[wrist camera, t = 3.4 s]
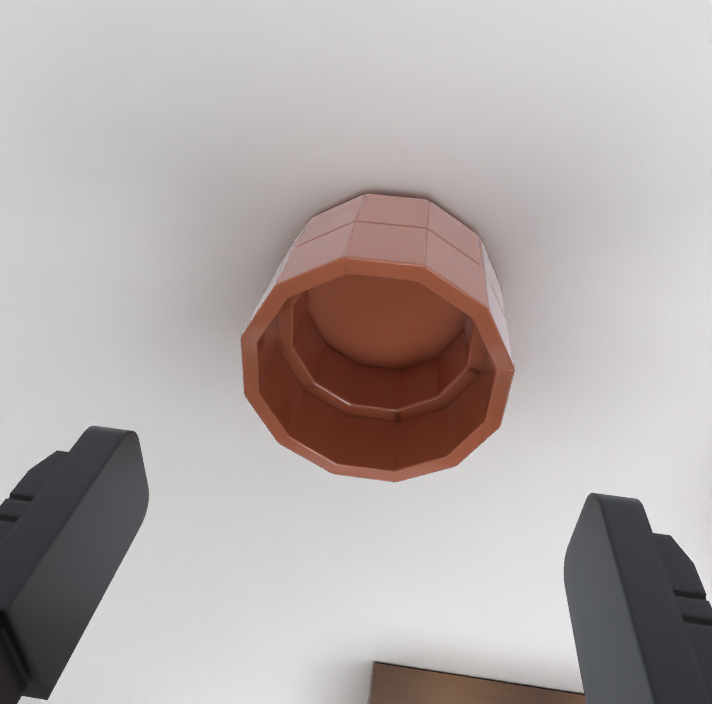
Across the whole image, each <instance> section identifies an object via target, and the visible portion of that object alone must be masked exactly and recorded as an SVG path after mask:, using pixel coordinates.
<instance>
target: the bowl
mask: <svg viewBox="0 0 712 704" xmlns="http://www.w3.org/2000/svg"><path fill="white" fill-rule="evenodd" d="M241 352H242V370H243V387H244V394H245V397H246V398H247V400H248V401H249V403H250V404H251V405H252V407H253V408H254V410H255V411H256V412H257V414H258V415H259V417H260V418H261V419H262V421H263V422H264V424H265V425H266V427H267V428H268V429H269V431H270V432H271V434H272V435H273V436H274V438H275V439H276V441H277V442H278V443H279V444H280V445H282V446H284V447H286V448H288V449H289V450H291V451H293V452H295V453H296V454H298V455H300V456H302V457H304V458H305V459H307V460H309V461H311V462H312V463H314V464H316V465H318V466H319V467H321V468H323V469H325V470H327V471H328V472H330V473H333V474H337V475H344V476H352V477H359V478H367V479H374V480H382V481H389V482H395V481H396V482H399V481H403V480H406V479H410V478H414V477H418V476H422V475H425V474H429V473H433V472H437V471H440V470H444V469H448V468H452V467H455V466H457V465H458V464H459V463H460V462H461V461H463V460H464V459H465V458H466V457H467V456H468V455H469V454H470V453H471V452H473V451H474V450H475V449H476V448H477V447H478V446H479V445H480V444H482V443H483V442H484V441H485V440H486V439H487V438H488V437H489V436H491V435H492V434H493V433H494V432H495V431H496V430H497V429H498V428H499V427H500V426H501V423H502V419H503V415H504V411H505V407H506V403H507V399H508V395H509V391H510V387H511V383H512V379H513V375H514V371H515V370H514V362H513V356H512V350H511V344H510V338H509V332H508V326H507V322H506V315H505V309H504V302H503V296H502V290H501V285H500V283H499V281H498V278H497V276H496V273H495V271H494V268H493V266H492V263H491V261H490V259H489V256H488V254H487V251H486V249H485V246H484V244H483V242H482V239H481V238H480V237H479V236H478V234H476V233H475V232H474V231H472V230H471V229H469V228H468V227H466V226H465V225H464V224H462V223H461V222H459V221H458V220H457V219H455V218H454V217H452V216H451V215H450V214H448V213H447V212H445V211H444V210H443V209H441V208H440V207H438V206H437V205H436V204H434V203H433V202H430V201H429V200H427V199H418V198H408V197H398V196H388V195H377V194H365V195H361V196H358V197H356V198H354V199H352V200H350V201H347V202H345V203H343V204H341V205H338V206H336V207H334V208H332V209H330V210H327V211H325V212H323V213H321V214H319V215H316V216H314V217H312V218H311V219H310V220H308V222H307V223H306V225H305V226H304V228H303V229H302V231H301V232H300V234H299V235H298V237H297V238H296V240H295V242H294V243H293V245H292V246H291V248H290V249H289V251H288V252H287V254H286V255H285V257H284V258H283V260H282V261H281V263H280V265H279V267H278V269H277V271H276V272H275V274H274V276H273V278H272V280H271V282H270V283H269V285H268V287H267V289H266V291H265V293H264V295H263V296H262V298H261V300H260V302H259V304H258V306H257V307H256V309H255V311H254V313H253V315H252V317H251V318H250V320H249V322H248V324H247V326H246V328H245V330H244V331H243V333H242V336H241Z"/></svg>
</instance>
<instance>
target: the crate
mask: <svg viewBox="0 0 712 704" xmlns="http://www.w3.org/2000/svg"><path fill="white" fill-rule="evenodd" d="M368 704H586V700H585V695H580V694H574V693H567V692H561V691H554V690H548V689H541V688H535V687H528V686H522V685H516V684H509V683H503V682H496V681H490V680H483V679H477V678H470V677H464V676H457V675H451V674H445V673H438V672H432V671H425V670H419V669H412V668H406V667H399V666H393V665H386V664H380V663H374V664H373V668H372V676H371V683H370V691H369V698H368Z"/></svg>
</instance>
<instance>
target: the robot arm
mask: <svg viewBox="0 0 712 704" xmlns="http://www.w3.org/2000/svg"><path fill="white" fill-rule="evenodd" d="M148 500H149V489H148V483H147V478H146V473H145V468H144V463H143V458H142V453H141V448H140V442H139V438H138V436H137V434H136V432H134V431H129V430H122V429H114V428H106V427H99V426H91V427H89V428H88V429H86V430H85V432H84V433H83V434H82V435H81V437H80V438H79V439H78V441H77V442H76V443H75V445H74V446H73V447H72V449H71V450H70V451H69V452H63V451H56V452H54V453H53V454H52V455H50V456H49V457H47V458H46V459H44V460H43V461H41V462H40V463H39V464H37V465H36V466H34V467H33V468H31V469H30V470H29V471H28V472H27V473H26V475H25V476H24V477H23V478H22V479H21V481H20V482H19V483H18V484H17V486H16V487H15V488H14V489H13V491H12V492H11V493H10V497H9V499H5V501H4V502H3V503H2V504H1V505H0V704H17V703H18V701H19V700H20V698H21V696H26V697H32V698H38V699H44V700H48V698H49V696H50V694H51V692H52V690H53V689H54V687H55V685H56V683H57V681H58V679H59V677H60V676H61V674H62V672H63V670H64V668H65V666H66V664H67V662H68V661H69V659H70V657H71V655H72V653H73V651H74V649H75V648H76V646H77V644H78V642H79V640H80V638H81V636H82V635H83V633H84V631H85V629H86V627H87V625H88V623H89V621H90V620H91V618H92V616H93V614H94V612H95V610H96V608H97V607H98V605H99V603H100V601H101V599H102V597H103V595H104V594H105V592H106V590H107V588H108V586H109V584H110V582H111V580H112V579H113V577H114V575H115V573H116V571H117V569H118V567H119V566H120V564H121V562H122V560H123V558H124V556H125V554H126V553H127V551H128V549H129V547H130V545H131V543H132V541H133V539H134V538H135V536H136V534H137V532H138V530H139V528H140V526H141V524H142V522H143V520H144V518H145V515H146V511H147V507H148ZM564 584H565V590H566V595H567V601H568V606H569V612H570V617H571V623H572V628H573V634H574V639H575V645H576V650H577V656H578V661H579V667H580V672H581V678H582V683H583V689H584V694H585V700H586V704H712V608H711V605H710V603H709V601H706V593H705V590H704V588H703V585H702V583H701V580H700V578H699V575H698V573H697V570H696V568H695V565H694V563H693V562H692V561H691V560H690V558H689V557H688V556H687V555H686V554H685V552H684V551H683V550H682V549H681V548H680V547H679V545H678V544H677V543H676V542H675V541H674V539H673V538H672V537H671V536H670V535H663V534H656V533H653V532H652V530H651V527H650V524H649V521H648V518H647V515H646V512H645V510H644V507H643V505H642V503H641V502H640V501H639V500H638V499H634V498H627V497H619V496H611V495H604V494H596V493H591V494H590V495H589V496H588V497H587V499H586V501H585V504H584V506H583V509H582V511H581V514H580V517H579V519H578V522H577V524H576V527H575V529H574V532H573V535H572V537H571V540H570V542H569V545H568V548H567V551H566V555H565V562H564Z"/></svg>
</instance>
